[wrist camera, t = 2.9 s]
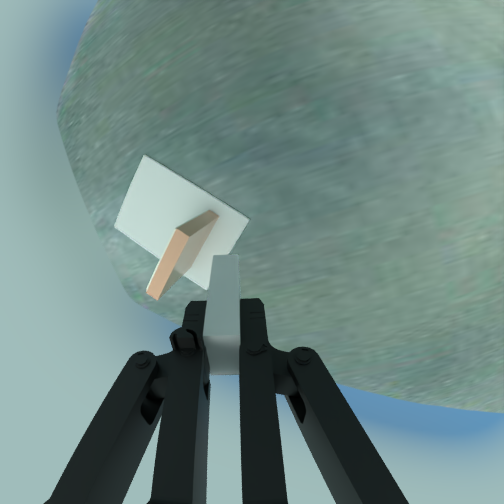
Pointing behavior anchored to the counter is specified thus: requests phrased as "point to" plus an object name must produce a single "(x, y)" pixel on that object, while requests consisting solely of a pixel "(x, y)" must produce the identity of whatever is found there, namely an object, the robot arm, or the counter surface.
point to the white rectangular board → (176, 215)
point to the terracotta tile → (180, 252)
